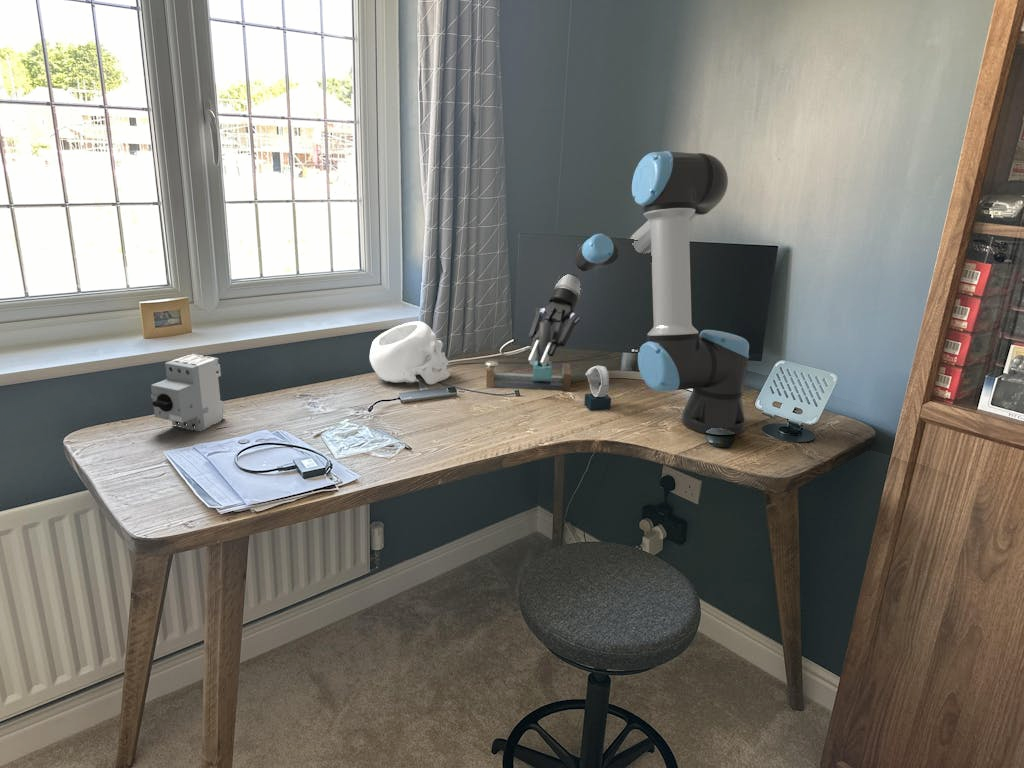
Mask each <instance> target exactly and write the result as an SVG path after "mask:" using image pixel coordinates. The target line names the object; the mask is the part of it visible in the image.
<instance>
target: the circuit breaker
mask: <svg viewBox="0 0 1024 768" xmlns="http://www.w3.org/2000/svg"><path fill="white" fill-rule="evenodd" d="M164 366H165V374H166V375H165V376H166V378H165V379H163V380H161V381H158V382H155V383H152V384H151V385H150V391H151V394H150V398H151V399H152V406H153V411H154V417H155V418H158V419H162V420H168V421H171V423H172V424H171V425H172V426H173V425H176V426H181V427H184V428H187V429H186V430H189V429H192V430H191V431H193V430H196V431H195V432H198V431H200V432H202V431H204V430H207V429H208V428H207V427H209V428H210V426H211V425H213V424H215V425H217V424H218V423H217V422H219V423H221V422H222V421H223V420H222V419H225V420H226V417H224V415H225V403H224V401H223V400H221V393H220V384H219V383H220V382H219V381H220V380H219V377H222V372H221V364H219V358H218V357H213V356H208V355H206V356H204V355H200V354H195V353H190V354H188V355H185V356H182V357H179V358H175V359H173V360H169V361H166V362H165V363H164ZM217 372H218V373H217ZM221 420H222V421H221ZM220 421H221V422H220ZM178 423H179V424H178ZM184 423H185V424H184ZM216 423H217V424H216ZM186 424H187V426H185V425H186ZM193 425H194V426H195V428H194V426H193ZM213 426H214V425H213ZM211 427H212V426H211ZM184 428H183V429H184ZM206 428H207V429H206ZM203 429H204V430H203ZM201 430H202V431H201Z"/></svg>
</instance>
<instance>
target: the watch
mask: <svg viewBox="0 0 1024 768" xmlns="http://www.w3.org/2000/svg"><path fill="white" fill-rule="evenodd" d="M585 376H586V377H587V380H588V384H589V388H590V391H591V393H584V401H583V403H584V404H583V405H584V406H585V407H586V408H587V410H588V411H589V412H592V411H598V412H599V411H610V410H611V405H612V397H611V396H609V395H608V392H609V388H610V385H609V384H610V375H609V370H608V369H607V367H606V366H602V365H595V366H592V367H590V368H589V369H588V370H587V371H586V372H585ZM599 383H600V385H599Z"/></svg>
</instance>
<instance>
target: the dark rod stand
mask: <svg viewBox="0 0 1024 768" xmlns="http://www.w3.org/2000/svg"><path fill="white" fill-rule="evenodd" d="M551 327H552V326H551V323H550V322H545V321H544V320H543V321H541V322H540V327H539V328H540V329H539V346H538V355H537V360H535V362H534V365H533V371H532V374H533V381H547V382H551V377H552V375H553V363H552V362H553V361H549V360H548V362H547V365H546V367H543V366H542V364H541V363H540V361H541V359H542V357H543V354H544V352H545V349H546V347H547V345H548V342H550V341H551Z"/></svg>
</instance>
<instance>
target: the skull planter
mask: <svg viewBox="0 0 1024 768" xmlns="http://www.w3.org/2000/svg"><path fill="white" fill-rule="evenodd" d="M443 345H444V343H443V341H442V340H441V339H440V340H439V339H437V335H436V333H435V332H434V331H433V330H432V328H431V327H430V326H429V325H428V324H427V323H425V322H423V321H410V322H405V323H403V324H401V325H400V324H399V325H396V326H394V327H392V328H389V329H388V330H385V331H384V332H382V333H381V334H379V335H378V336H377V337H375V339H373V341H372V343H371V346H370V350H369V357H368V358H369V363H370V365H371V367H372V369H373V370H374V372H375V373H376V375H378V377H380V378H381V380H383V381H385V382H386V383H389V382H390V383H395V384H401V383H405V382H411V383H414V382H415V381H416V380H417V377H416V376H417V375H420V376H421V377H422V378H423V380H424V382H425V383H426V384H427V385H434V384H436V383H438V382H441V381H445V380H447V379H448V378H449V377H450V376H451V372H450V371H449V369H448V367H447V366H448V365H449V363H450V362H449V360H448V358H447V356H446V354H445V353H446V352H444V351H442V349H443Z"/></svg>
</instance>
